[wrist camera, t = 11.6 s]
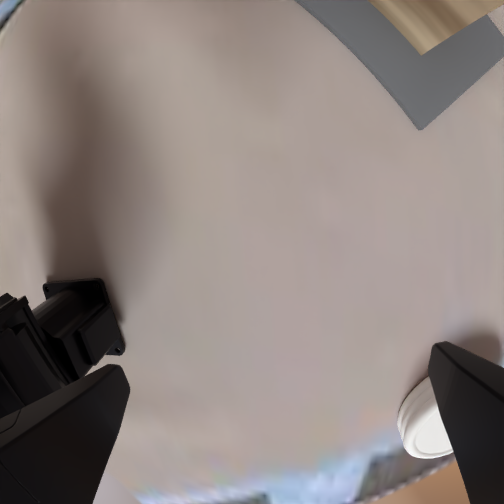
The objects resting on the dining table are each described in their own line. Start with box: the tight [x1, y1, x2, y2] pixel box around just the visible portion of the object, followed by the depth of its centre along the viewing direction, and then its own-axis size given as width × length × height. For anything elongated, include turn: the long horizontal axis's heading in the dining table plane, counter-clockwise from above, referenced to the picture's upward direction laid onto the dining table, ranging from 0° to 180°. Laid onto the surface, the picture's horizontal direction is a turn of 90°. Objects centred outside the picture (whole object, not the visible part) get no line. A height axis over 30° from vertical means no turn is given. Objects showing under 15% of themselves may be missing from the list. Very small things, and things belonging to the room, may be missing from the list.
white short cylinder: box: [397, 376, 453, 458], centre depth 21 cm, size 10×10×4 cm
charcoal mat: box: [295, 0, 504, 130], centre depth 13 cm, size 12×12×1 cm
